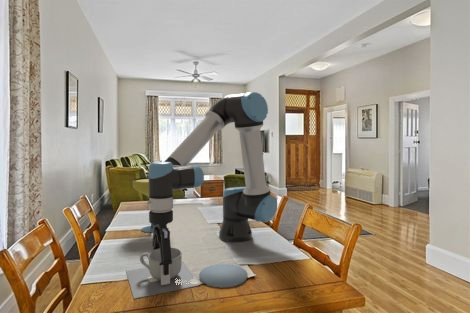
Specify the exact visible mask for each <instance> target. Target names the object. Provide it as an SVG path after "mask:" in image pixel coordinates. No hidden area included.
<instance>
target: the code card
mask: <svg viewBox="0 0 470 313" xmlns="http://www.w3.org/2000/svg"><path fill="white" fill-rule="evenodd" d="M125 272H126V276H127V279H128V283H129V288H130V290H131V294H132V298H133V300H136V299H137V300H138V299H141V298H146V297H150V296H156V295H161V294H165V293H171V292H175V291H181V290H185V289H189V288H195V287H200V286H201V284H199V283H200V282H199V283H198V284H191V283H190V282H191V281H190V280H191V279H194V278H193V277H195V276H194V274H193V273H192V271H191V270H190V269H189V267H188V266H187V264H186V263H185V262H184V261H182V263H181V270H180V272H179V274H178V275H176V276H175V277H174V278H173V279H171V280H170V284H165V285H161V281H160V280H157V279H156V278H154V277H153V276H152V275H151V274H150V271H149V269H148V268H147V267H142V268H135V269H129V270H126V271H125ZM176 278H177V279H178V280H179V279H180V280H181V279H182V280H183V282H184V281H185V280H186V281H187V282H186V281H185V282H184V283H183V282H182V285H181V283H180V284H179V285H178V283H177V285H176V283H175V281H176V280H177V279H176ZM175 279H176V280H175ZM182 280H181V281H182ZM181 281H180V282H181ZM188 281H190V282H188ZM178 282H179V281H178ZM186 283H187V284H186ZM188 283H189V284H188ZM199 285H200V286H199Z"/></svg>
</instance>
